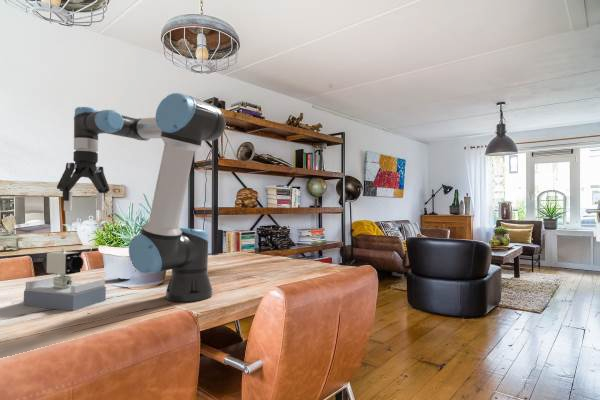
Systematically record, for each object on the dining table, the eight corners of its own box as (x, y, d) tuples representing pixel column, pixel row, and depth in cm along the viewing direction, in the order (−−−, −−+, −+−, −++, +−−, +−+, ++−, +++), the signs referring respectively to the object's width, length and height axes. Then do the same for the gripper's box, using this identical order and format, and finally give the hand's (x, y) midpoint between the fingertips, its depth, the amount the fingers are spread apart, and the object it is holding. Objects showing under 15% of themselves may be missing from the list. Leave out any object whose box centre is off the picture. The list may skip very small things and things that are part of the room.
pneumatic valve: (69, 290, 108) (70, 250, 109) (41, 287, 112) (42, 248, 112) (85, 286, 114) (86, 248, 114) (58, 284, 117) (58, 247, 117)
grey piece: (105, 300, 117) (105, 278, 117) (73, 310, 105) (73, 286, 105) (52, 295, 122) (52, 274, 123) (16, 304, 111) (16, 281, 111)
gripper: (104, 156, 143) (103, 209, 142) (44, 146, 119) (43, 210, 118) (120, 155, 141) (119, 210, 140) (62, 145, 117) (61, 211, 116)
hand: (84, 210), depth 129 cm, fingers open, 13 cm apart
